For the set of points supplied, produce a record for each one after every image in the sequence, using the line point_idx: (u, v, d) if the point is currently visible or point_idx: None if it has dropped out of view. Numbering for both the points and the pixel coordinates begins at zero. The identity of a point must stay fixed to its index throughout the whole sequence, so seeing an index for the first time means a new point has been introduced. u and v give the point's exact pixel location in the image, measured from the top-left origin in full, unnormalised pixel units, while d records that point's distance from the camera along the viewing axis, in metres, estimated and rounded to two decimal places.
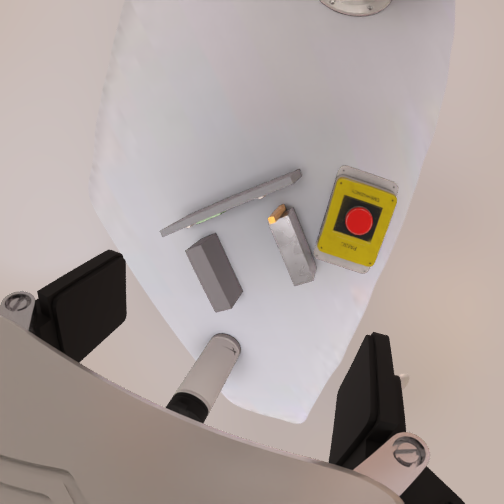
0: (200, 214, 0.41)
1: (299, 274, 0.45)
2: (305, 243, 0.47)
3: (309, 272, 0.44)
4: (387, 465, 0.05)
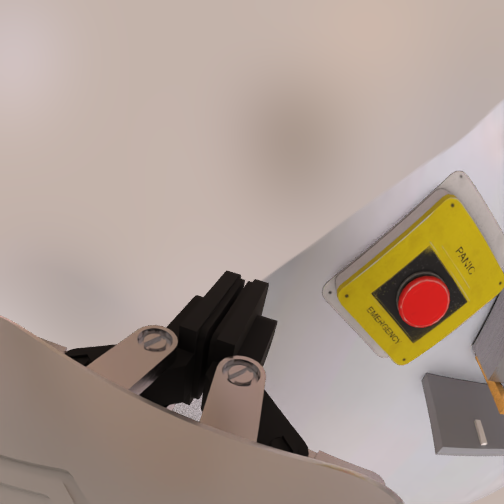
0: None
1: None
2: None
3: None
4: (230, 393, 0.07)
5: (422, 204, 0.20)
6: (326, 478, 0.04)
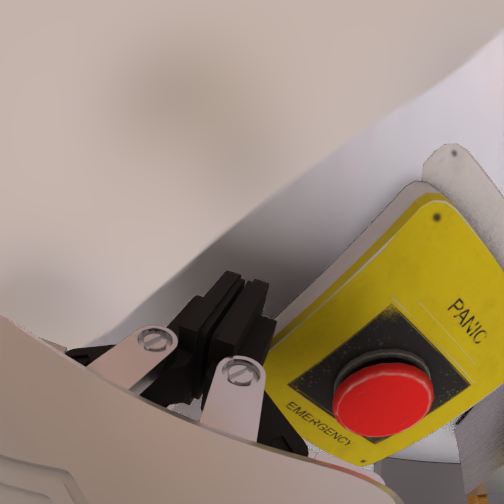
0: None
1: None
2: None
3: None
4: (230, 392, 0.07)
5: (380, 216, 0.11)
6: (326, 478, 0.04)
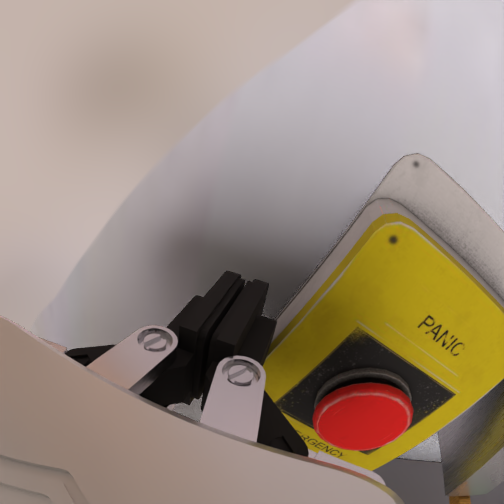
0: None
1: None
2: None
3: None
4: (230, 392, 0.07)
5: (343, 239, 0.11)
6: (326, 478, 0.04)
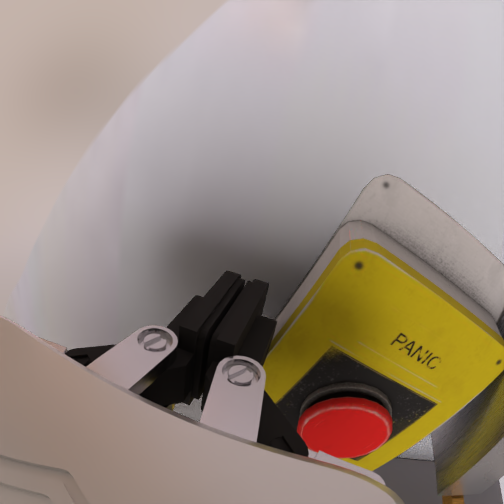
0: None
1: None
2: None
3: None
4: (230, 393, 0.07)
5: (318, 262, 0.12)
6: (326, 478, 0.04)
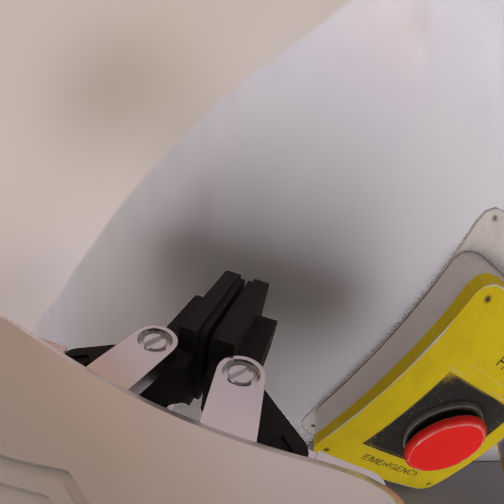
0: None
1: None
2: None
3: None
4: (230, 392, 0.07)
5: (433, 291, 0.11)
6: (326, 478, 0.04)
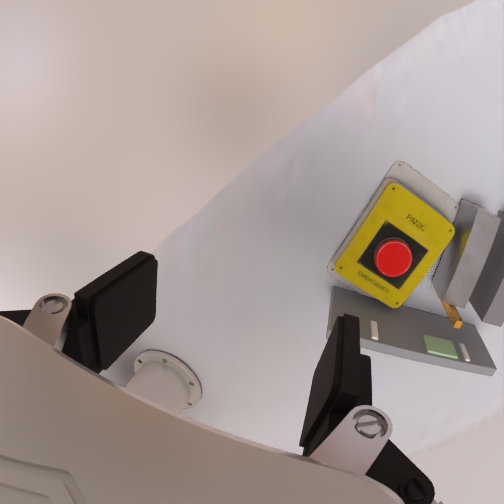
0: (443, 365, 0.25)
1: (486, 229, 0.24)
2: (452, 242, 0.28)
3: (475, 222, 0.24)
4: (351, 439, 0.06)
5: (376, 193, 0.30)
6: (326, 478, 0.04)
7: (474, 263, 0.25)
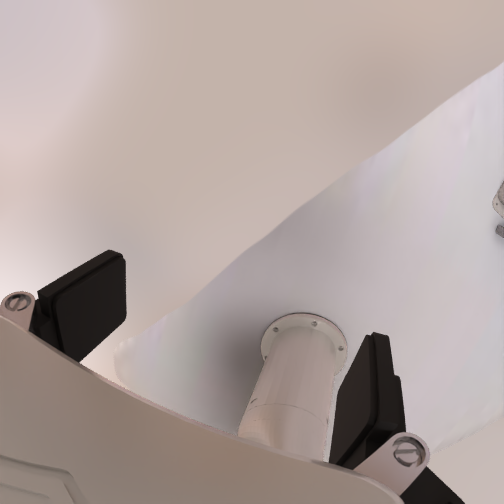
0: None
1: None
2: None
3: None
4: (387, 465, 0.05)
5: None
6: (326, 478, 0.04)
7: None
